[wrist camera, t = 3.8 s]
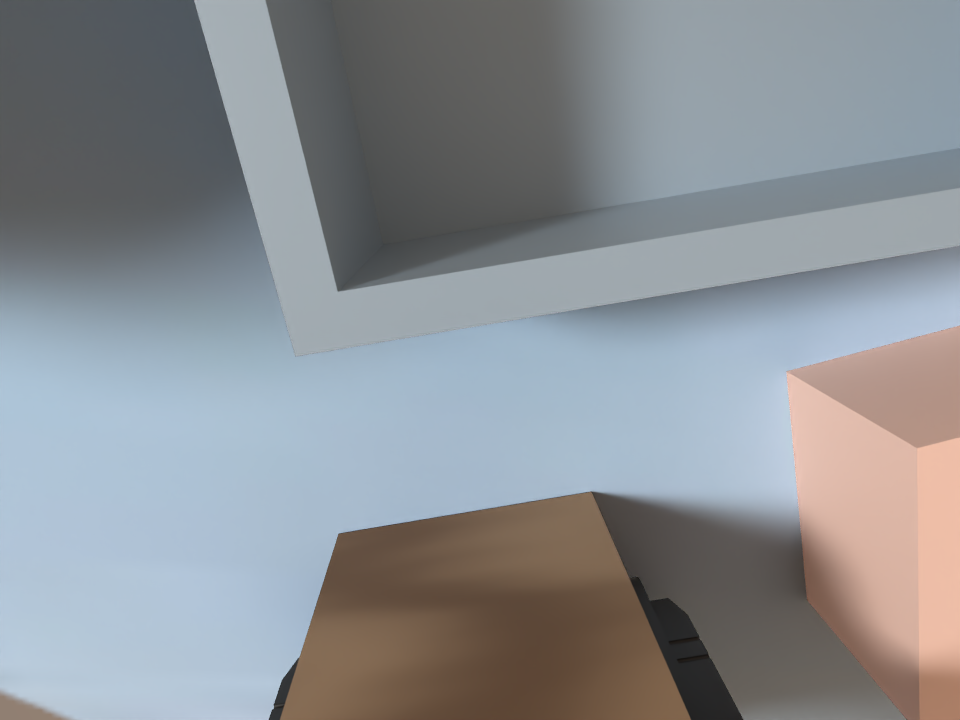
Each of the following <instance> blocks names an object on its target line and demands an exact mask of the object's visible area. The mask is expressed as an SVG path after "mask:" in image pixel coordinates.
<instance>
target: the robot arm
mask: <svg viewBox="0 0 960 720" xmlns="http://www.w3.org/2000/svg"><path fill="white" fill-rule="evenodd" d="M629 579H630V581H631V583H632V586H633V588H634V590H635V593H636V595H637V597H638V599H639V602H640V604H641V606H642V609H643V611H644V613H645V615H646V618H647V620H648V622H649V625H650V627H651V629H652V631H653V634H654V636H655V638H656V641H657V643H658V645H659V648H660V650H661V652H662V654H663V657H664V659H665V661H666V664H667V666H668V668H669V670H670V673H671V675H672V677H673V680H674V682H675V684H676V686H677V689H678V691H679V693H680V696H681V698H682V700H683V702H684V705H685V707H686V709H687V712H688V714H689V716H690V719H691V720H743V718H742V716H741V714H740V713H739V711H738V709H737V707H736V705H735V703H734V701H733V699H732V697H731V696H730V694H729V692H728V690H727V688H726V686H725V684H724V682H723V681H722V679H721V677H720V675H719V673H718V671H717V669H716V667H715V665H714V664H713V662H712V660H711V659H710V658H709V655H708V652H707V650H706V649H705V647H704V645H703V643H702V641H700V639H699V635H698V633H697V632H696V630H695V628H694V626H693V624H692V622H691V620H690V618H689V617H688V615H687V614H686V613H685V612H684V611H683V610H681V609H680V608H679V607H678V606H677V605H676V604H674V603H673V602H672V601H671V600H670V599H669V598H666V599H660V600H654V601H650V600H649V598H648V596H647V594H646V592H645V589H644V587H643V585H642V583H641V581H640V579H639V578H638V577H633V578H629ZM298 661H299V658H298V659H297V661H296V662H295V663H294V665H293V666H292V667H291V669H290V670H289V672H288V673H287V674H286V676H285V677H284V678H283V680H282V682H281V685H280V688H279V691H278V694H277V697H276V700H275V703H274V709H273V710H272V712H271V715H270V718H269V720H280V718H281V715H282V712H283V709H284V705H285V702H286V699H287V696H288V693H289V690H290V686H291V683H292V680H293V677H294V674H295V671H296V667H297V664H298Z"/></svg>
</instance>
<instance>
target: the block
mask: <svg viewBox="0 0 960 720" xmlns="http://www.w3.org/2000/svg"><path fill="white" fill-rule="evenodd" d="M280 720H691V719H690V716H689V714H688V712H687V709H686V707H685V705H684V702H683V700H682V698H681V696H680V693H679V691H678V689H677V686H676V684H675V682H674V680H673V677H672V675H671V673H670V670H669V668H668V666H667V664H666V661H665V659H664V657H663V654H662V652H661V650H660V648H659V645H658V643H657V641H656V638H655V636H654V634H653V631H652V629H651V627H650V625H649V622H648V620H647V618H646V615H645V613H644V611H643V609H642V606H641V604H640V602H639V599H638V597H637V595H636V593H635V590H634V588H633V586H632V583H631V581H630V579H629V577H628V574H627V572H626V570H625V567H624V565H623V563H622V560H621V558H620V556H619V554H618V551H617V549H616V547H615V544H614V542H613V540H612V538H611V535H610V533H609V531H608V528H607V526H606V524H605V522H604V519H603V517H602V515H601V512H600V510H599V508H598V506H597V503H596V501H595V499H594V496H593V494H592V492H588V493H582V494H576V495H570V496H564V497H558V498H552V499H546V500H539V501H533V502H527V503H521V504H515V505H509V506H503V507H497V508H491V509H485V510H479V511H473V512H467V513H461V514H455V515H449V516H443V517H437V518H431V519H425V520H419V521H413V522H407V523H401V524H395V525H389V526H383V527H377V528H371V529H365V530H359V531H353V532H347V533H341V534H338V537H337V541H336V544H335V547H334V550H333V553H332V556H331V560H330V563H329V566H328V569H327V572H326V575H325V579H324V582H323V585H322V588H321V591H320V595H319V598H318V601H317V604H316V607H315V610H314V614H313V617H312V620H311V623H310V626H309V629H308V633H307V636H306V639H305V642H304V645H303V648H302V652H301V655H300V658H299V661H298V664H297V667H296V671H295V674H294V677H293V680H292V683H291V686H290V690H289V693H288V696H287V699H286V702H285V705H284V709H283V712H282V715H281V718H280Z"/></svg>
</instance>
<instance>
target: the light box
mask: <svg viewBox="0 0 960 720" xmlns="http://www.w3.org/2000/svg"><path fill="white" fill-rule="evenodd" d="M786 372H787V383H788V394H789V405H790V416H791V427H792V439H793V450H794V461H795V472H796V483H797V494H798V505H799V516H800V527H801V539H802V550H803V561H804V572H805V583H806V594H807V600H808V602H809V603H810V604H811V605H812V606H813V608H814V609H815V610H816V611H817V612H818V614H819V615H820V616H821V617H822V618H823V620H824V621H825V622H826V623H827V624H828V626H829V627H830V628H831V629H832V630H833V632H834V633H835V634H836V635H837V636H838V638H839V639H840V640H841V641H842V642H843V644H844V645H845V646H846V647H847V648H848V650H849V651H850V652H851V653H852V654H853V656H854V657H855V658H856V659H857V660H858V662H859V663H860V664H861V665H862V666H863V668H864V669H865V670H866V671H867V672H868V674H869V675H870V676H871V677H872V678H873V680H874V681H875V682H876V683H877V684H878V686H879V687H880V688H881V689H882V690H883V691H884V693H885V694H886V695H887V696H888V697H889V699H890V700H891V701H892V702H893V703H894V705H895V706H896V707H897V708H898V709H899V711H900V712H901V713H902V714H903V715H904V717H905V718H906V719H907V720H960V326H956V327H953V328H949V329H945V330H941V331H938V332H934V333H930V334H926V335H922V336H919V337H915V338H911V339H907V340H904V341H900V342H896V343H892V344H888V345H885V346H881V347H877V348H873V349H870V350H866V351H862V352H858V353H854V354H851V355H847V356H843V357H839V358H835V359H832V360H828V361H824V362H820V363H817V364H813V365H809V366H805V367H801V368H798V369H794V370H790V371H786Z"/></svg>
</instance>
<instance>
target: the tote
mask: <svg viewBox="0 0 960 720" xmlns="http://www.w3.org/2000/svg"><path fill="white" fill-rule="evenodd" d="M194 2H195V5H196V9H197V12H198V16H199V19H200V23H201V26H202V30H203V33H204V37H205V40H206V44H207V47H208V51H209V54H210V58H211V61H212V65H213V68H214V72H215V76H216V79H217V83H218V86H219V90H220V93H221V97H222V100H223V104H224V107H225V111H226V114H227V118H228V121H229V125H230V128H231V132H232V135H233V139H234V142H235V146H236V149H237V153H238V156H239V160H240V163H241V167H242V170H243V174H244V177H245V181H246V184H247V188H248V192H249V195H250V199H251V202H252V206H253V209H254V213H255V216H256V220H257V223H258V227H259V230H260V234H261V237H262V241H263V244H264V248H265V251H266V255H267V258H268V262H269V265H270V269H271V272H272V276H273V279H274V283H275V286H276V290H277V293H278V297H279V300H280V304H281V308H282V311H283V315H284V318H285V322H286V325H287V329H288V332H289V336H290V339H291V343H292V346H293V350H294V353H295V356H301V355H307V354H313V353H319V352H325V351H331V350H337V349H343V348H349V347H355V346H361V345H367V344H373V343H379V342H385V341H391V340H397V339H403V338H409V337H415V336H421V335H427V334H433V333H439V332H445V331H451V330H457V329H463V328H469V327H475V326H481V325H487V324H493V323H499V322H505V321H511V320H517V319H523V318H529V317H535V316H541V315H547V314H553V313H559V312H565V311H571V310H577V309H583V308H589V307H595V306H601V305H607V304H614V303H620V302H626V301H632V300H638V299H644V298H650V297H656V296H662V295H668V294H674V293H680V292H686V291H692V290H698V289H704V288H710V287H716V286H722V285H728V284H734V283H740V282H746V281H752V280H758V279H764V278H770V277H776V276H782V275H788V274H794V273H800V272H806V271H812V270H818V269H824V268H830V267H836V266H842V265H848V264H854V263H860V262H866V261H872V260H878V259H884V258H890V257H896V256H902V255H908V254H914V253H920V252H926V251H932V250H938V249H944V248H950V247H956V246H960V0H194Z"/></svg>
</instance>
